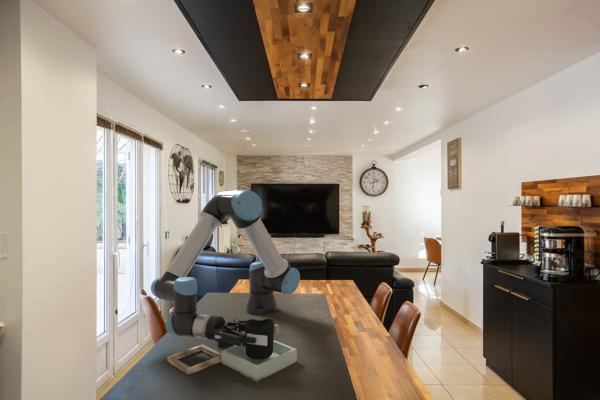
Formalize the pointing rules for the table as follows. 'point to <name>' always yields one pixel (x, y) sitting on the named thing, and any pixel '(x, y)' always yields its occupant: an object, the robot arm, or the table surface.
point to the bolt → (222, 343)
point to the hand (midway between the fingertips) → (272, 334)
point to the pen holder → (260, 328)
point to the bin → (259, 360)
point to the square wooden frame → (189, 370)
